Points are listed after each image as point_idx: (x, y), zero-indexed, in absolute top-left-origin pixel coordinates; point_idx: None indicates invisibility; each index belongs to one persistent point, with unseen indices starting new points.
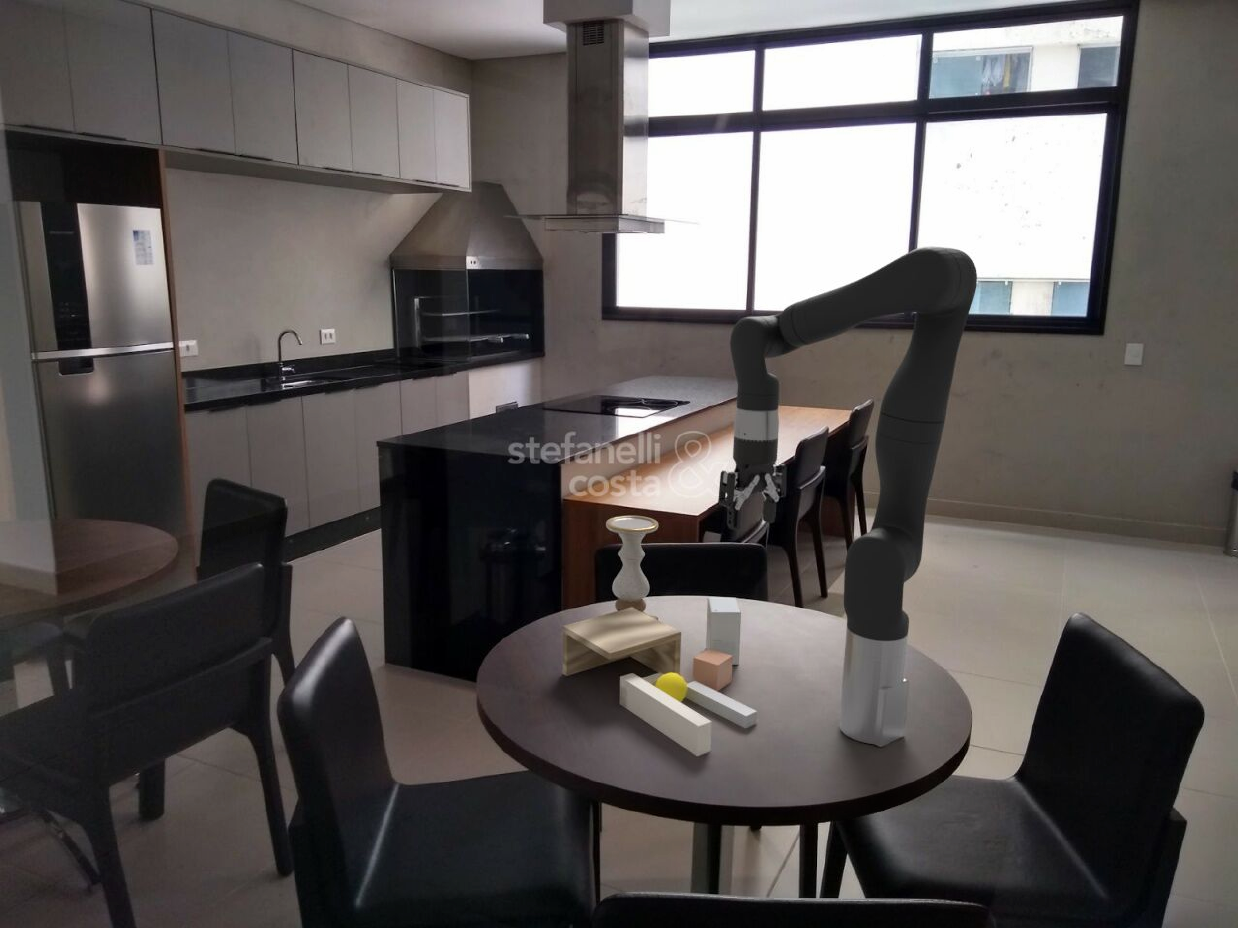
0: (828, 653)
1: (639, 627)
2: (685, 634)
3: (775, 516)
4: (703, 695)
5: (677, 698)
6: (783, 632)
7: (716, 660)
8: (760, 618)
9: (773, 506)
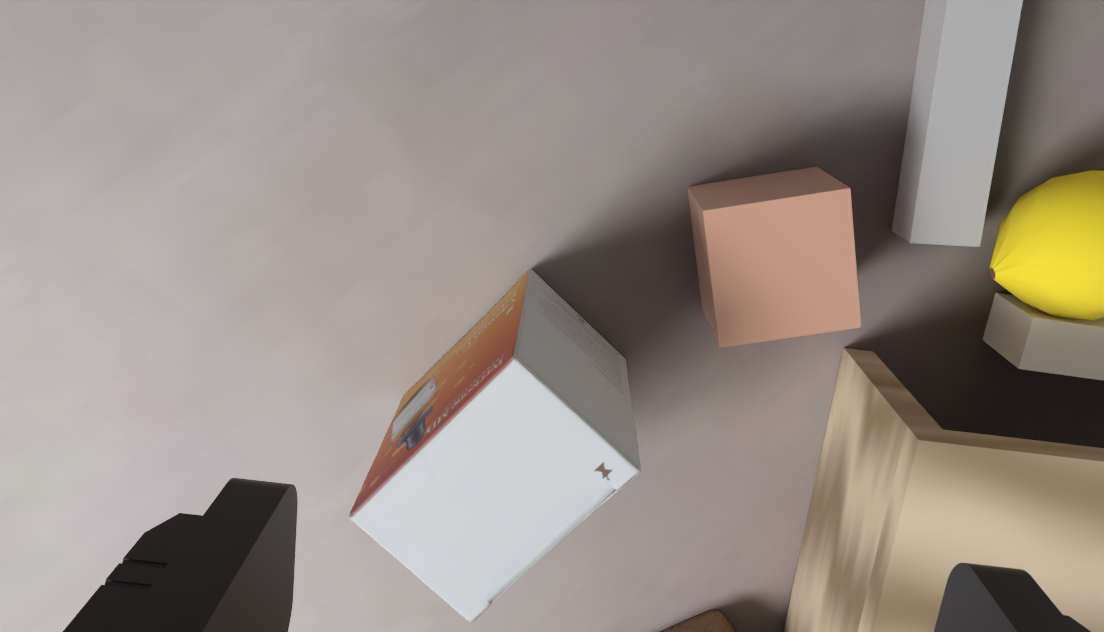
0: (75, 55)
1: None
2: (458, 623)
3: (152, 529)
4: (1001, 120)
5: None
6: (70, 353)
7: (807, 231)
8: (38, 520)
9: (181, 619)
